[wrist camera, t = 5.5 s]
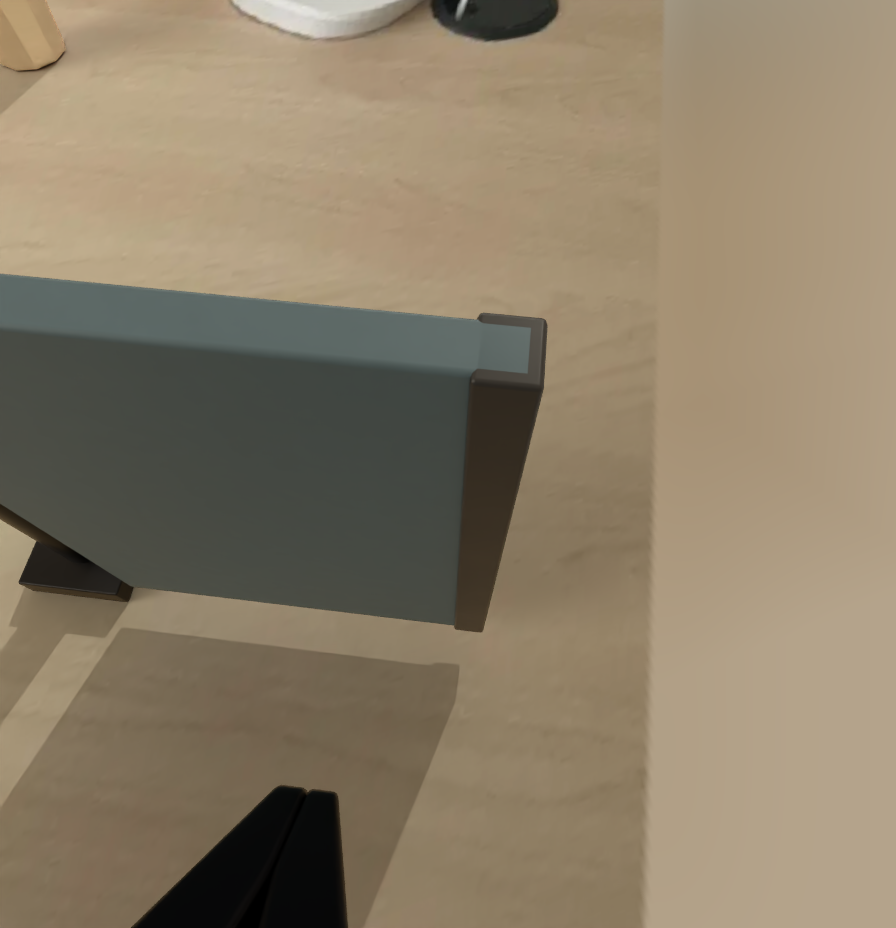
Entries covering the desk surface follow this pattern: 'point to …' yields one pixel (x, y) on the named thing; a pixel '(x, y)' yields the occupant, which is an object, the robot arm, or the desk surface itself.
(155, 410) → the door
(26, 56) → the milkshake
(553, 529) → the desk surface
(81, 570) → the door post
